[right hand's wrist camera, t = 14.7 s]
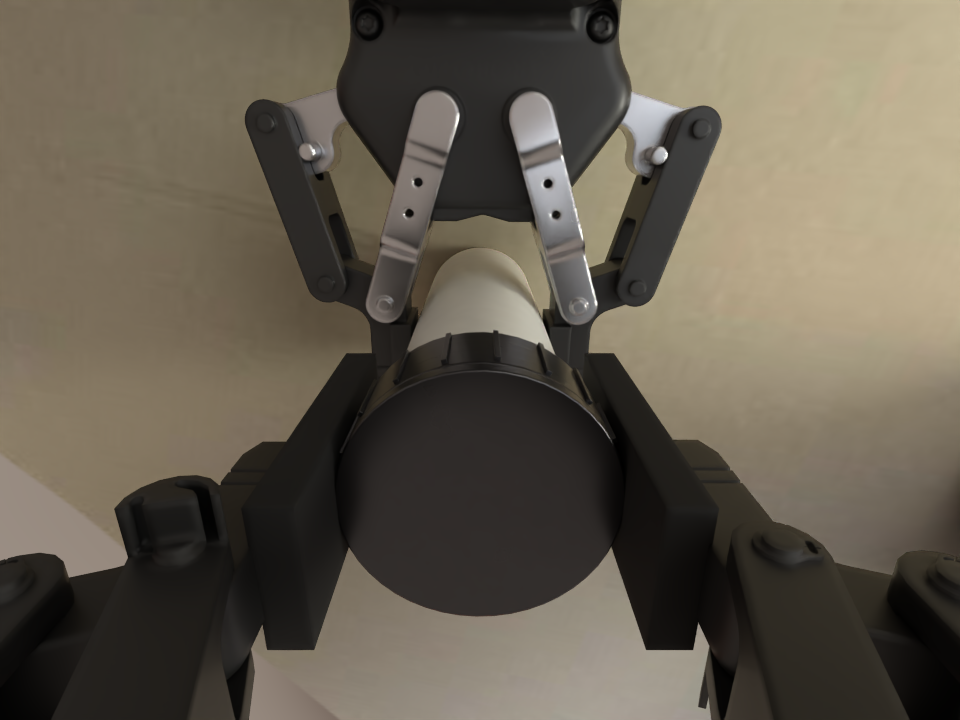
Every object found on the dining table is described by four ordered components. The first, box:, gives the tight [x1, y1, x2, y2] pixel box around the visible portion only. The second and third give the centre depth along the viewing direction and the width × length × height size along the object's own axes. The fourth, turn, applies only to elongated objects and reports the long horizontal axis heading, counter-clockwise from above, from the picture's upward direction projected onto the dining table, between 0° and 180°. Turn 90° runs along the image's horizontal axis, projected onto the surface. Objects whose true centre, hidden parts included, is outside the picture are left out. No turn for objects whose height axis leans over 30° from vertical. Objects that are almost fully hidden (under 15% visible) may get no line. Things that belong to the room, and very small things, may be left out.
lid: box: [335, 330, 625, 616], centre depth 11 cm, size 6×6×2 cm
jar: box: [407, 248, 555, 354], centre depth 18 cm, size 4×4×15 cm
